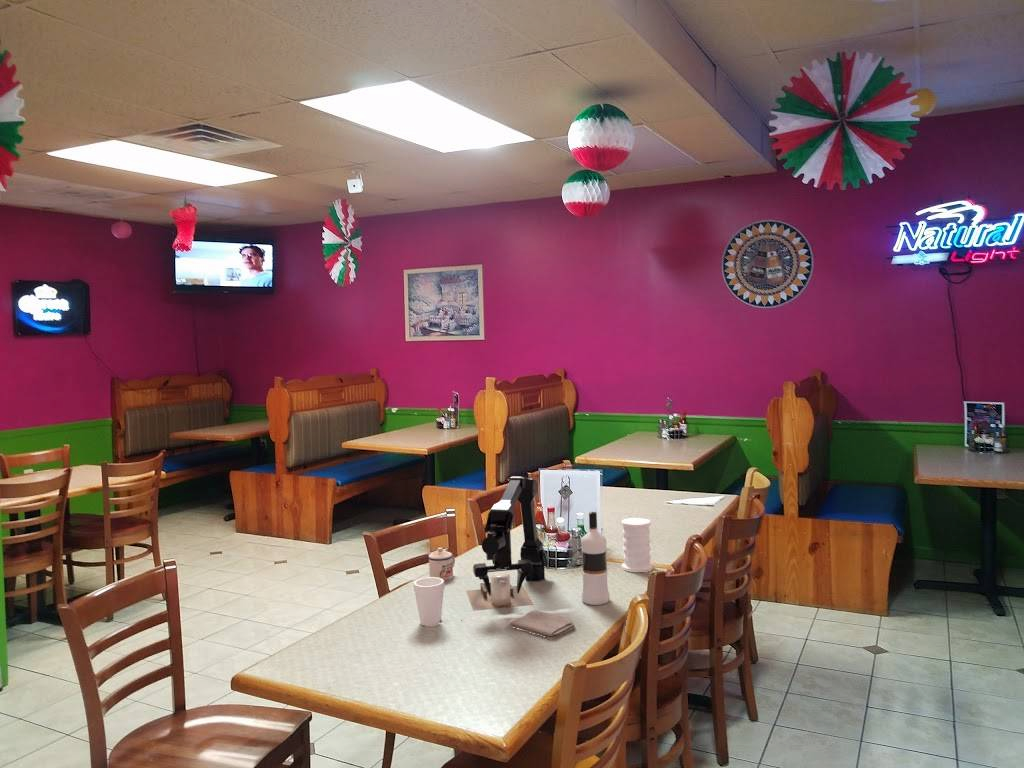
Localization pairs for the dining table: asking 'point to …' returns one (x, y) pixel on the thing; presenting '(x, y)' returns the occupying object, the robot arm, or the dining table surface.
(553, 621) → the washcloth
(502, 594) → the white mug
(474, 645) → the dining table surface
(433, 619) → the foam cup
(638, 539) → the decorative container
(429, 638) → the dining table surface
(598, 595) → the vodka
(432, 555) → the teacup with lid
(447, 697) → the dining table surface
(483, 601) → the dock
